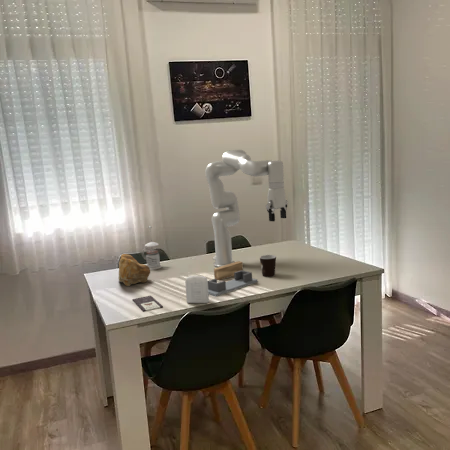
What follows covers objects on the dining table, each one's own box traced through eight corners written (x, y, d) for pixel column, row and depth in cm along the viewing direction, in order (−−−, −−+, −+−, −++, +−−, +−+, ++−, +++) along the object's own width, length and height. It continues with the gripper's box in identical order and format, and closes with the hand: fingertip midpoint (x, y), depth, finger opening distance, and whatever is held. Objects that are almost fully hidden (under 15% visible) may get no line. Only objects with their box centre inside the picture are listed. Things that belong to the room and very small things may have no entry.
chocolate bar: (150, 295, 218) (162, 306, 202) (150, 297, 219) (163, 308, 203) (132, 299, 215) (143, 310, 199) (132, 301, 215) (143, 312, 199)
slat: (214, 279, 240) (213, 268, 239) (238, 271, 252) (238, 261, 251) (218, 280, 238) (218, 269, 237) (243, 272, 250) (242, 262, 249)
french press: (157, 269, 266) (153, 227, 262) (139, 269, 270) (135, 227, 265) (164, 265, 275) (161, 224, 271) (147, 264, 279) (143, 224, 275)
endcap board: (202, 292, 220) (201, 281, 219) (243, 278, 238) (243, 268, 237) (215, 296, 212) (215, 285, 212) (257, 281, 231) (257, 271, 230)
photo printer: (209, 300, 208) (208, 274, 206) (208, 303, 204) (206, 276, 202) (187, 300, 210) (185, 274, 207) (185, 303, 205) (183, 277, 203)
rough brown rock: (151, 288, 235) (151, 259, 233) (118, 289, 231) (117, 260, 229) (148, 277, 257) (148, 251, 255) (118, 278, 253) (118, 252, 252)
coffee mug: (276, 277, 236) (275, 258, 234) (259, 277, 238) (258, 259, 236) (278, 271, 247) (277, 253, 245) (262, 271, 249) (261, 253, 247)
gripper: (280, 183, 236) (281, 216, 239) (259, 187, 224) (261, 222, 227) (292, 184, 231) (293, 217, 234) (272, 187, 219) (273, 223, 222)
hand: (277, 219), depth 230 cm, fingers open, 9 cm apart
